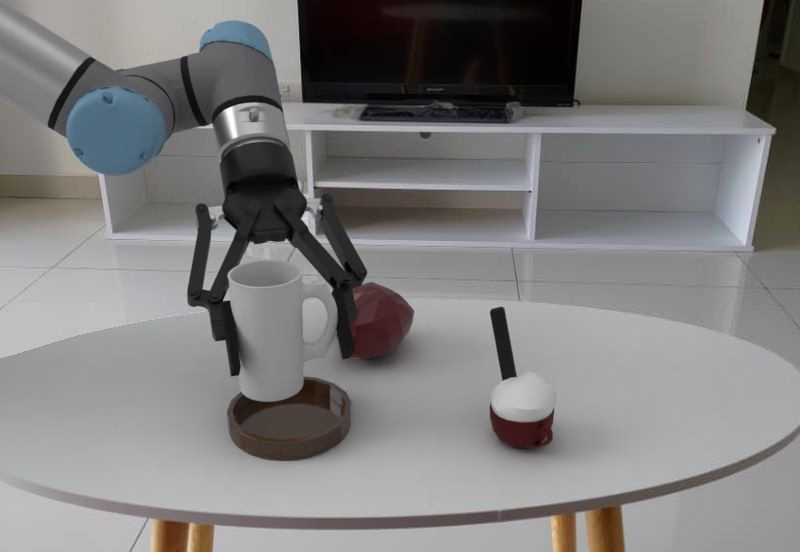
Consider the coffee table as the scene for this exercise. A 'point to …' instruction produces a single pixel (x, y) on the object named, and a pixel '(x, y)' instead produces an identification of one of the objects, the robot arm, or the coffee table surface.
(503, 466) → the coffee table surface
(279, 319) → the mug
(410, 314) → the heart
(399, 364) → the coffee table surface
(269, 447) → the tray
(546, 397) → the cocoa
